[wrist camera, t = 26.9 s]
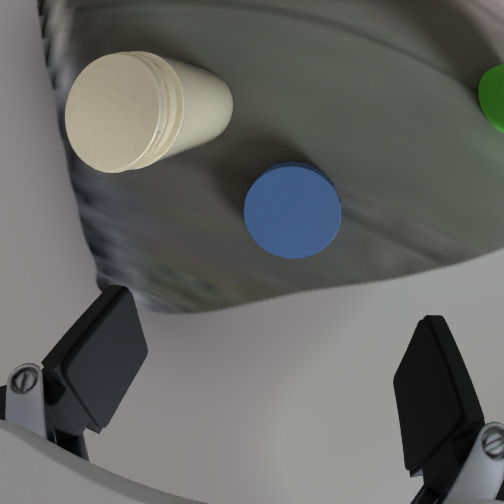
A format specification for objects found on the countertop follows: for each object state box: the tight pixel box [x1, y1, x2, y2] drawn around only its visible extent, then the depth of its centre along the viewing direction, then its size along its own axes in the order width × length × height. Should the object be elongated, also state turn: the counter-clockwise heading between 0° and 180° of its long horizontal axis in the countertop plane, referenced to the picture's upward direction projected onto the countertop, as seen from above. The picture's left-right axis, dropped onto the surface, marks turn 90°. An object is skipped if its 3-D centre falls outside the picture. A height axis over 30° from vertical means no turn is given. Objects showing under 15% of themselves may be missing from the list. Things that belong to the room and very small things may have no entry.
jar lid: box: [244, 161, 341, 258], centre depth 21 cm, size 7×7×2 cm
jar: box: [65, 51, 233, 173], centre depth 15 cm, size 6×6×11 cm
